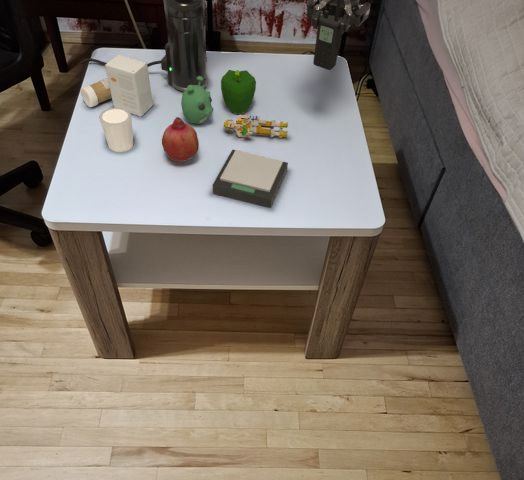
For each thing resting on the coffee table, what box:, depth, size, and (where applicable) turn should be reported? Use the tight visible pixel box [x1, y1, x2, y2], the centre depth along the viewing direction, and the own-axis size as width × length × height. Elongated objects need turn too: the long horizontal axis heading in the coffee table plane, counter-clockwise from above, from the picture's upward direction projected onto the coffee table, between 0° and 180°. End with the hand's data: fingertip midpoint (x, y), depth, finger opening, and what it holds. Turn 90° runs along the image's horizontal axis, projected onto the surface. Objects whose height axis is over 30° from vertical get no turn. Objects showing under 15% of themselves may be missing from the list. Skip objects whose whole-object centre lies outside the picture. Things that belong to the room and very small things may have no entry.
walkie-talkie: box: [312, 0, 342, 71], centre depth 105 cm, size 5×3×15 cm
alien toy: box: [180, 76, 214, 125], centre depth 118 cm, size 7×8×10 cm
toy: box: [223, 114, 289, 139], centre depth 118 cm, size 5×5×15 cm
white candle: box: [98, 106, 134, 153], centre depth 112 cm, size 7×7×7 cm
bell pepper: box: [220, 69, 257, 115], centre depth 122 cm, size 8×8×10 cm
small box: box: [104, 54, 154, 118], centre depth 119 cm, size 8×6×10 cm
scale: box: [212, 149, 289, 209], centre depth 109 cm, size 13×13×3 cm
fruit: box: [161, 116, 200, 162], centre depth 109 cm, size 8×8×10 cm
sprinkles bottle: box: [80, 77, 112, 108], centre depth 123 cm, size 5×5×14 cm
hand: (328, 26), depth 102 cm, fingers closed on walkie-talkie, 5 cm apart
